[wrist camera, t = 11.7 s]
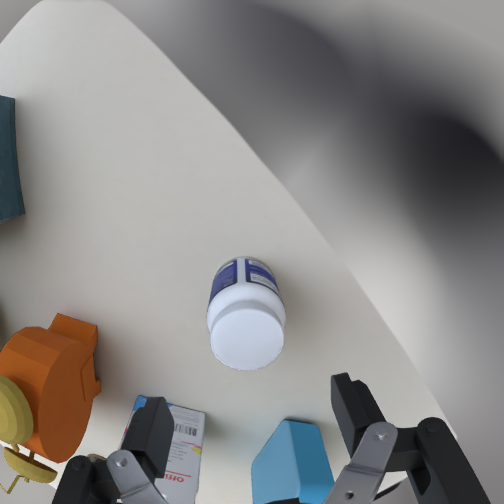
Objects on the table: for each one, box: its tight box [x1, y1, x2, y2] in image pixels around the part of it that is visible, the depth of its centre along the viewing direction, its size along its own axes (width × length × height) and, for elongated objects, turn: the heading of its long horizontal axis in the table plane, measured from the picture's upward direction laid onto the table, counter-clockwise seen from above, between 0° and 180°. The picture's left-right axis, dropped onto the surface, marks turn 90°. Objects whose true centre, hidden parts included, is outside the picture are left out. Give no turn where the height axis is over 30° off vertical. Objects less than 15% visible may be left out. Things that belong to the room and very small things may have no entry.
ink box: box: [118, 396, 205, 504], centre depth 25 cm, size 8×5×15 cm, turn 74°
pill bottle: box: [207, 257, 286, 371], centre depth 23 cm, size 6×6×10 cm
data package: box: [251, 420, 335, 504], centre depth 28 cm, size 12×4×12 cm, turn 159°
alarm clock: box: [0, 313, 101, 494], centre depth 20 cm, size 13×6×20 cm, turn 168°
